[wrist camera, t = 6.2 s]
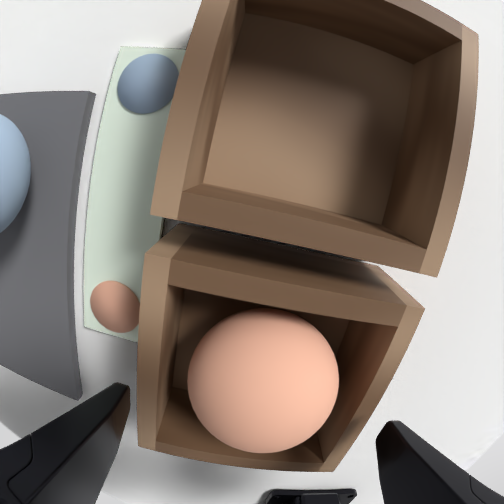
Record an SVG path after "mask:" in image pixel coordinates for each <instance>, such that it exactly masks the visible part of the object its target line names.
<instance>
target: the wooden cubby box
mask: <svg viewBox="0 0 504 504" xmlns="http://www.w3.org/2000/svg"><path fill="white" fill-rule="evenodd" d="M258 308H271V309H279V310H283V311H287V312H290V313H292V314H295V315H297V316H299V317H301V318H303V319H304V320H306V321H307V322H309V323H310V324H312V325H313V326H314V327H315V328H316V329H317V330H318V331H319V332H320V333H321V334H322V335H323V336H324V338H325V339H326V340H327V342H328V344H329V345H330V347H331V349H332V351H333V353H334V356H335V359H336V363H337V366H338V374H339V387H338V394H337V398H336V401H335V404H334V407H333V409H332V411H331V413H330V415H329V417H328V418H327V420H326V421H325V423H324V424H323V425H322V426H321V428H320V429H319V430H318V431H317V432H315V433H314V434H313V435H312V436H311V437H310V438H308V439H307V440H306V441H304V442H302V443H300V444H298V445H296V446H294V447H292V448H289V449H287V450H283V451H279V452H273V453H252V452H246V451H242V450H239V449H236V448H233V447H231V446H229V445H227V444H225V443H223V442H221V441H220V440H219V439H217V438H216V437H215V436H213V435H212V434H211V433H210V432H209V431H208V430H207V429H206V428H205V427H204V426H203V424H202V423H201V422H200V420H199V419H198V417H197V415H196V413H195V411H194V409H193V407H192V404H191V401H190V398H189V393H188V383H187V379H188V369H189V365H190V360H191V358H192V355H193V353H194V351H195V348H196V347H197V345H198V344H199V342H200V340H201V339H202V338H203V336H204V335H205V334H206V333H207V332H208V331H209V330H210V329H211V328H212V327H213V326H215V325H216V324H217V323H218V322H220V321H221V320H223V319H225V318H226V317H228V316H230V315H233V314H235V313H238V312H241V311H245V310H250V309H258ZM424 310H425V308H424V307H423V306H422V305H421V304H420V303H418V302H417V301H416V300H415V299H414V298H413V297H412V296H411V295H410V294H409V293H408V292H407V291H405V290H404V289H403V288H402V287H401V286H400V285H399V284H398V283H397V282H395V281H394V280H393V279H392V278H391V277H390V276H389V275H388V274H386V273H385V272H384V271H383V270H382V269H381V268H380V267H378V266H375V265H371V264H367V263H362V262H358V261H353V260H349V259H344V258H340V257H335V256H331V255H326V254H322V253H317V252H313V251H308V250H304V249H299V248H294V247H290V246H285V245H281V244H276V243H271V242H267V241H262V240H257V239H253V238H248V237H243V236H239V235H234V234H229V233H224V232H220V231H215V230H210V229H205V228H200V227H196V226H191V225H186V224H181V223H179V224H177V225H176V226H175V227H174V228H173V229H172V230H170V231H169V232H168V233H167V234H166V235H165V236H164V237H162V238H161V239H160V240H159V241H158V242H157V243H156V244H154V245H153V246H152V247H151V248H150V249H149V250H148V251H147V252H146V253H145V256H144V265H143V275H142V286H141V298H140V312H139V328H138V350H137V431H138V446H140V447H143V448H147V449H150V450H154V451H158V452H162V453H166V454H170V455H175V456H179V457H184V458H189V459H194V460H199V461H204V462H210V463H216V464H223V465H230V466H237V467H245V468H255V469H266V470H279V471H300V472H333V471H334V470H335V468H336V467H337V466H338V464H339V463H340V462H341V460H342V459H343V457H344V456H345V455H346V453H347V452H348V450H349V449H350V447H351V446H352V444H353V443H354V441H355V440H356V438H357V437H358V435H359V434H360V432H361V431H362V429H363V428H364V426H365V424H366V423H367V421H368V420H369V418H370V416H371V415H372V413H373V411H374V410H375V408H376V406H377V405H378V403H379V401H380V400H381V398H382V396H383V394H384V392H385V391H386V389H387V387H388V385H389V383H390V382H391V380H392V378H393V376H394V374H395V372H396V370H397V368H398V366H399V364H400V362H401V360H402V358H403V356H404V354H405V352H406V350H407V348H408V346H409V344H410V342H411V340H412V337H413V335H414V333H415V331H416V328H417V326H418V324H419V322H420V319H421V317H422V315H423V312H424Z"/></svg>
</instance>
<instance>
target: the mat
mask: <svg viewBox="0 0 504 504" xmlns="http://www.w3.org/2000/svg"><path fill="white" fill-rule="evenodd" d="M95 96H96V94H95V93H92V92H90V91H45V92H25V93H11V94H0V114H1V115H3V116H5V117H7V118H8V119H9V120H11V121H12V122H13V123H14V124H15V125H16V126H17V128H18V129H19V130H20V132H21V133H22V135H23V137H24V139H25V141H26V144H27V146H28V150H29V154H30V162H31V176H30V184H29V189H28V192H27V196H26V198H25V201H24V203H23V206H22V207H21V209H20V211H19V213H18V214H17V216H16V217H15V219H14V220H13V221H12V222H11V223H10V225H9V226H8V227H7V228H6V229H5V230H3V231H2V232H1V233H0V365H2V366H4V367H6V368H8V369H10V370H12V371H13V372H15V373H17V374H19V375H21V376H23V377H25V378H27V379H29V380H31V381H34V382H36V383H38V384H40V385H42V386H44V387H47V388H49V389H51V390H53V391H56V392H58V393H60V394H63V395H65V396H68V397H70V398H73V399H75V400H79V399H80V397H81V396H82V388H81V381H80V373H79V365H78V356H77V345H76V332H75V315H74V241H75V224H76V211H77V201H78V191H79V183H80V175H81V168H82V161H83V155H84V149H85V143H86V137H87V132H88V127H89V122H90V117H91V113H92V108H93V104H94V100H95Z"/></svg>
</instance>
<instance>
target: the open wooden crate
mask: <svg viewBox="0 0 504 504" xmlns="http://www.w3.org/2000/svg"><path fill="white" fill-rule="evenodd" d="M478 58H479V44H478V34H477V33H476V32H474V31H473V30H471V29H470V28H468V27H466V26H465V25H463V24H462V23H460V22H459V21H457V20H455V19H454V18H452V17H450V16H449V15H447V14H445V13H443V12H442V11H440V10H438V9H436V8H435V7H433V6H431V5H429V4H427V3H425V2H423V1H421V0H202V2H201V5H200V8H199V11H198V14H197V17H196V20H195V23H194V26H193V29H192V32H191V35H190V38H189V42H188V45H187V48H186V51H185V55H184V58H183V62H182V65H181V69H180V72H179V76H178V80H177V84H176V87H175V91H174V95H173V99H172V103H171V107H170V112H169V116H168V120H167V125H166V129H165V134H164V138H163V143H162V148H161V153H160V158H159V163H158V169H157V174H156V180H155V186H154V192H153V198H152V204H151V211H150V215H154V216H159V217H164V218H169V219H174V220H179V221H184V222H189V223H194V224H199V225H203V226H208V227H213V228H218V229H223V230H227V231H232V232H237V233H242V234H246V235H251V236H256V237H260V238H265V239H270V240H274V241H279V242H284V243H288V244H293V245H297V246H302V247H306V248H311V249H315V250H320V251H324V252H329V253H333V254H338V255H342V256H347V257H351V258H356V259H360V260H364V261H369V262H373V263H377V264H382V265H386V266H390V267H395V268H399V269H403V270H407V271H412V272H416V273H420V274H424V275H429V276H433V277H437V276H438V273H439V270H440V267H441V264H442V261H443V258H444V255H445V252H446V249H447V246H448V243H449V239H450V236H451V233H452V229H453V226H454V222H455V218H456V214H457V211H458V207H459V203H460V198H461V194H462V190H463V185H464V181H465V176H466V171H467V166H468V160H469V154H470V148H471V142H472V135H473V128H474V120H475V110H476V99H477V86H478Z"/></svg>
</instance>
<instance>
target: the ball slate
mask: <svg viewBox="0 0 504 504" xmlns="http://www.w3.org/2000/svg"><path fill="white" fill-rule="evenodd" d="M30 176H31V162H30V154H29V150H28V146H27V144H26V141H25V139H24V137H23V135H22V133H21V132H20V130H19V129H18V128H17V126H16V125H15V124H14V123H13V122H12V121H11V120H9V119H8V118H7V117H5V116H3V115H1V114H0V233H1V232H2V231H3V230H5V229H6V228H7V227H8V226H9V225H10V223H11V222H12V221H13V220H14V219H15V217H16V216H17V214H18V213H19V211H20V209H21V207H22V206H23V203H24V201H25V198H26V196H27V192H28V189H29V184H30Z"/></svg>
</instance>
